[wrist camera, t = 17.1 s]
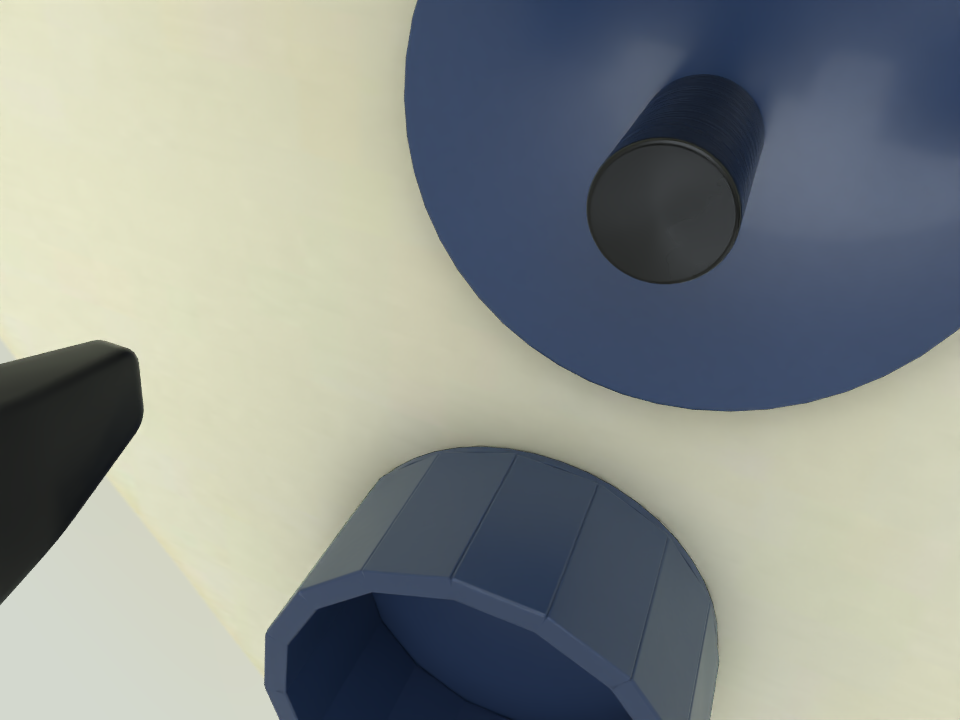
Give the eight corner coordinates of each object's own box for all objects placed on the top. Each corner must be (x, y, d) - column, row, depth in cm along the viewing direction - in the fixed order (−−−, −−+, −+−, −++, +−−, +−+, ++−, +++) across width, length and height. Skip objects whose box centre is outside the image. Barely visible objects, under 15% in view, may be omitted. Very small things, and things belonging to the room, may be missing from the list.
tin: (462, 370, 23) (376, 488, 19) (809, 631, 24) (800, 806, 19) (300, 582, 30) (210, 704, 26) (568, 782, 31) (523, 935, 26)
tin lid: (651, -435, 14) (556, -570, 9) (1267, 45, 14) (1466, 141, 10) (338, 169, 22) (200, 258, 17) (745, 476, 22) (717, 645, 17)
